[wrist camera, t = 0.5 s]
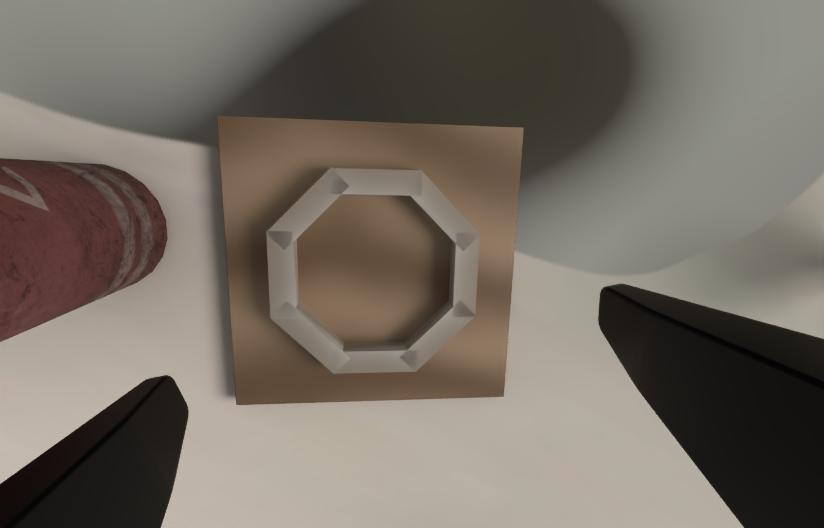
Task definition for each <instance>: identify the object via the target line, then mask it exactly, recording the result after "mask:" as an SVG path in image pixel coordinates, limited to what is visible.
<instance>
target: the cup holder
mask: <svg viewBox="0 0 824 528" xmlns="http://www.w3.org/2000/svg"><path fill="white" fill-rule="evenodd" d="M217 119H218V120H217V121H218V136H219V151H220V166H221V181H222V196H223V211H224V226H225V241H226V255H227V270H228V285H229V300H230V315H231V330H232V345H233V360H234V375H235V390H236V405H252V404H283V403H315V402H347V401H379V400H411V399H443V398H475V397H504V385H505V371H506V358H507V344H508V331H509V317H510V304H511V291H512V277H513V264H514V250H515V236H516V223H517V210H518V196H519V183H520V169H521V156H522V155H521V154H522V142H523V129H524V128H517V127H516V128H515V127H491V126H490V127H489V126H465V125H440V124H439V125H438V124H414V123H389V122H364V121H338V120H312V119H287V118H262V117H236V116H217Z"/></svg>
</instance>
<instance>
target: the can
mask: <svg viewBox="0 0 824 528" xmlns="http://www.w3.org/2000/svg"><path fill="white" fill-rule="evenodd" d="M166 242H167V228H166V219H165V217H164V214H163V212H162V210H161V207H160V205H159V203H158V200H157V199H156V198H155V197H154V196H153V195H152V193H151V192H150V191H149V190H148V189H147V187H146V186H145V185H144V184H143V183H141V182H140V181H138V180H137V179H135V178H134V177H133V176H131V175H130V174H128V173H127V172H125V171H122V170H119V169H116V168H113V167H110V166H107V165H101V164H84V163H68V162H51V161H35V160H19V159H2V158H0V342H1V341H4V340H6V339H8V338H10V337H13V336H15V335H17V334H20V333H22V332H24V331H27V330H29V329H31V328H33V327H36V326H38V325H40V324H43V323H45V322H47V321H49V320H52V319H54V318H56V317H59V316H61V315H63V314H66V313H68V312H70V311H72V310H75V309H77V308H79V307H82V306H84V305H86V304H88V303H91V302H93V301H95V300H98V299H100V298H102V297H105V296H107V295H109V294H111V293H114V292H116V291H118V290H121V289H123V288H125V287H128V286H130V285H132V284H134V283H137V282H138V281H140V280H141V279H143V278H144V277H145V276H147V275H148V274H150V273H151V272H152V271H153V270H154V268H155V267H156V266H157V264H158V263H159V261H160V260H161V258H162V257H163V254H164V250H165V246H166Z"/></svg>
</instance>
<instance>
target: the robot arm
mask: <svg viewBox="0 0 824 528" xmlns="http://www.w3.org/2000/svg"><path fill="white" fill-rule="evenodd" d="M598 321H599V326H600V329H601V331H602V333H603V334H604V336H605V338H606V339H607V341H608V342H609V344H610V346H611V347H612V349H613V351H614V352H615V354H616V355H617V357H618V359H619V360H620V362H621V364H622V365H623V367H624V368H625V370H626V372H627V373H628V375H629V377H630V378H631V380H632V381H633V383H634V384H635V386H636V387H637V389H638V390H639V392H640V393H641V394H642V396H643V397H644V398H645V400H646V401H647V402H648V404H649V405H650V406H651V407H652V409H653V410H654V411H655V413H656V414H657V415H658V417H659V418H660V419H661V420H662V422H663V423H664V424H665V426H666V427H667V428H668V430H669V431H670V432H671V433H672V435H673V436H674V437H675V439H676V440H677V441H678V442H679V444H680V445H681V446H682V448H683V449H684V450H685V452H686V453H687V454H688V455H689V457H690V458H691V459H692V461H693V462H694V463H695V465H696V466H697V467H698V468H699V470H700V471H701V472H702V474H703V475H704V476H705V477H706V479H707V480H708V481H709V483H710V484H711V485H712V487H713V488H714V489H715V490H716V492H717V493H718V494H719V496H720V497H721V498H722V500H723V501H724V502H725V503H726V505H727V506H728V507H729V509H730V510H731V511H732V512H733V514H734V515H735V516H736V518H737V519H738V520H739V522H740V523H741V524H742V525H743V527H744V528H824V339H822V338H818V337H815V336H811V335H807V334H804V333H800V332H796V331H793V330H789V329H786V328H782V327H778V326H775V325H771V324H767V323H764V322H760V321H757V320H753V319H749V318H746V317H742V316H738V315H735V314H731V313H728V312H724V311H720V310H717V309H713V308H709V307H706V306H702V305H699V304H695V303H691V302H688V301H684V300H680V299H677V298H673V297H669V296H666V295H662V294H659V293H655V292H651V291H648V290H644V289H640V288H637V287H633V286H630V285H626V284H616V285H611V286H606V287H604V288H603V289H602V290H601V292H600V302H599V317H598ZM187 421H188V407H187V404H186V402H185V400H184V398H183V396H182V394H181V392H180V390H179V388H178V386H177V385H176V383H175V381H174V379H173V378H172V377H170V376H167V375H165V376H160V377H155V378H150V379H147V380H145V381H143V382H142V383H140V384H139V385H138V386H136V387H135V388H133V389H132V390H131V391H129V392H128V393H127V394H125V395H124V396H122V397H121V398H120V399H118V400H117V401H115V402H114V403H113V404H111V405H110V406H108V407H107V408H106V409H104V410H103V411H101V412H100V413H99V414H97V415H96V416H94V417H93V418H92V419H90V420H89V421H87V422H86V423H85V424H83V425H82V426H81V427H79V428H78V429H76V430H75V431H74V432H72V433H71V434H69V435H68V436H67V437H65V438H64V439H62V440H61V441H60V442H58V443H57V444H55V445H54V446H53V447H51V448H50V449H48V450H47V451H46V452H44V453H43V454H41V455H40V456H39V457H37V458H36V459H35V460H33V461H32V462H30V463H29V464H28V465H26V466H25V467H23V468H22V469H21V470H19V471H18V472H16V473H15V474H14V475H12V476H11V477H9V478H8V479H7V480H5V481H4V482H2V483H1V484H0V528H161V525H162V522H163V519H164V516H165V513H166V510H167V507H168V503H169V500H170V497H171V493H172V490H173V486H174V482H175V477H176V473H177V468H178V463H179V458H180V454H181V449H182V444H183V439H184V435H185V430H186V425H187Z"/></svg>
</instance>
